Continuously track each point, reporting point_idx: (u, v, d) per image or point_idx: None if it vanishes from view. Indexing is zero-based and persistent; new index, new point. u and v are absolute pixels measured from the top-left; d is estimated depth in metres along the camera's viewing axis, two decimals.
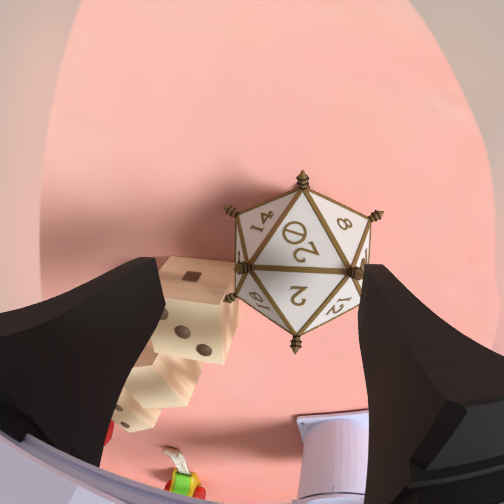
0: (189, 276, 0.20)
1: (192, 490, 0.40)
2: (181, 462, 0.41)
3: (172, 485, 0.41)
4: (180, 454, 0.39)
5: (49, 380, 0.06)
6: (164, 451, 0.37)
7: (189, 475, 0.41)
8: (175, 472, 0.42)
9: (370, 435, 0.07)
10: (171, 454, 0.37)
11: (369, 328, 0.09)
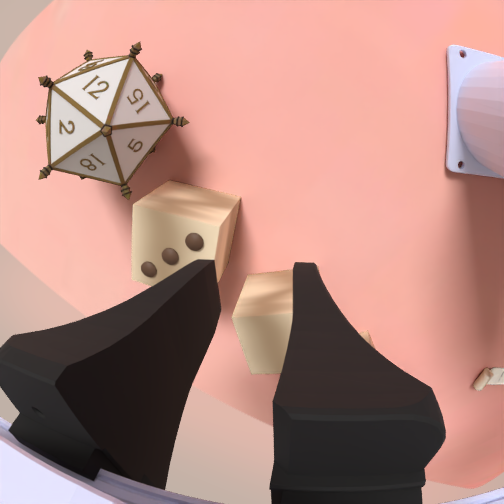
0: None
1: None
2: None
3: None
4: (495, 369, 0.23)
5: (125, 405, 0.06)
6: (476, 387, 0.23)
7: None
8: None
9: None
10: (483, 381, 0.23)
11: None
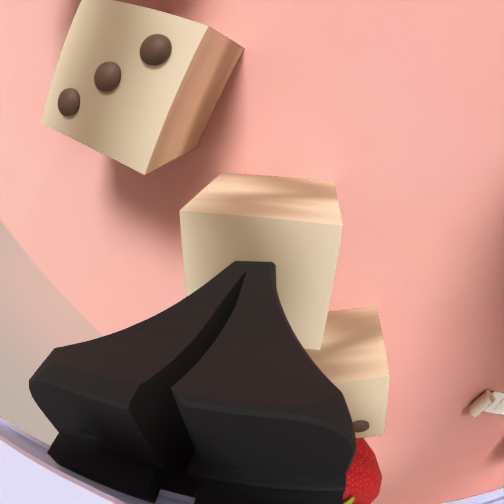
0: None
1: None
2: None
3: None
4: (496, 393, 0.18)
5: None
6: (472, 412, 0.17)
7: None
8: None
9: None
10: (483, 406, 0.17)
11: None
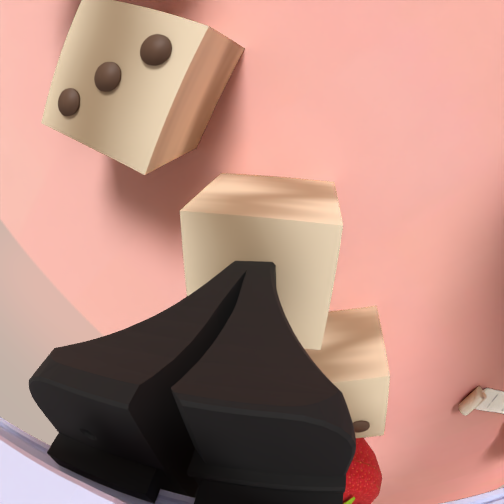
0: None
1: None
2: None
3: None
4: (488, 391, 0.17)
5: None
6: (463, 410, 0.17)
7: None
8: None
9: None
10: (474, 403, 0.17)
11: None
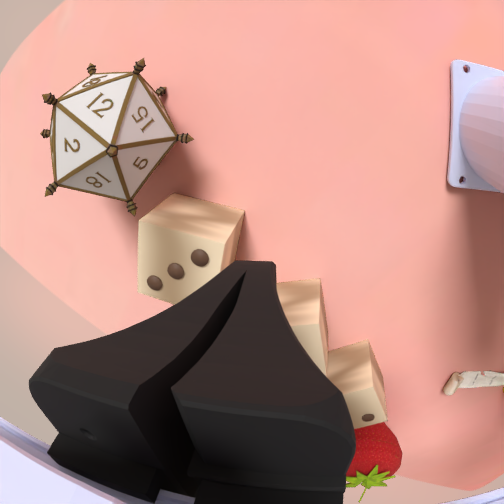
0: None
1: None
2: (488, 377, 0.24)
3: None
4: (467, 373, 0.24)
5: None
6: (446, 392, 0.24)
7: None
8: None
9: None
10: (452, 386, 0.23)
11: None
